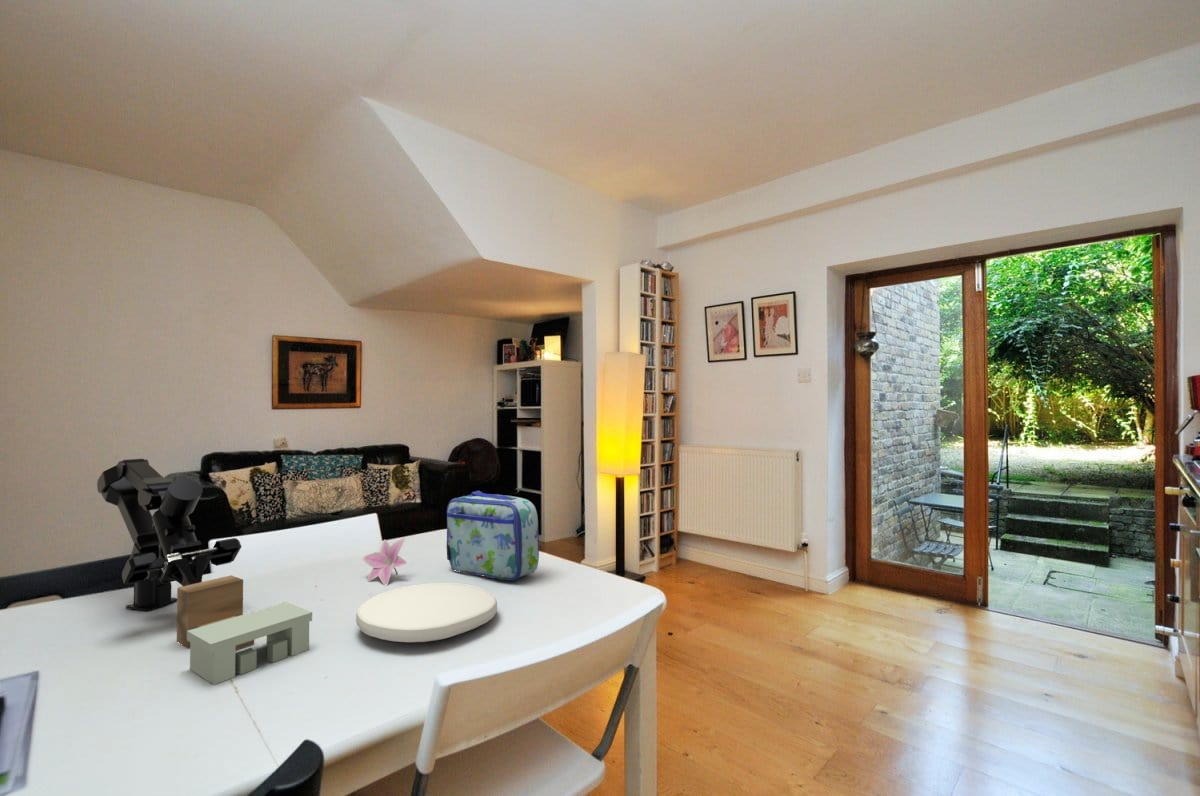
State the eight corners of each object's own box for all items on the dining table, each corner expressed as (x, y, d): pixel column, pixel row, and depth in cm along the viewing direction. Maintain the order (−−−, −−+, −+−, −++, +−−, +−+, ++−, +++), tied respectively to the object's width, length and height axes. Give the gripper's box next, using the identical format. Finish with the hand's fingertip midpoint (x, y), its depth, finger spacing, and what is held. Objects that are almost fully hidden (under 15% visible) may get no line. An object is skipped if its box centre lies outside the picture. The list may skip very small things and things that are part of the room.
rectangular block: (176, 641, 101) (177, 587, 102) (230, 625, 109) (231, 575, 109) (207, 659, 94) (207, 601, 94) (262, 641, 102) (263, 587, 102)
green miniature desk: (186, 670, 90) (186, 630, 91) (286, 636, 104) (286, 602, 104) (210, 685, 85) (210, 644, 86) (311, 648, 99) (312, 612, 99)
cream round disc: (408, 574, 127) (516, 583, 122) (405, 603, 127) (515, 613, 121) (325, 604, 100) (460, 616, 95) (322, 641, 99) (458, 656, 94)
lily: (361, 578, 142) (350, 551, 137) (403, 554, 149) (394, 527, 144) (381, 604, 134) (370, 576, 130) (424, 577, 141) (415, 549, 136)
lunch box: (439, 570, 146) (440, 492, 146) (469, 561, 155) (469, 487, 155) (514, 588, 132) (515, 501, 132) (542, 576, 141) (542, 495, 141)
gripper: (213, 545, 124) (235, 604, 118) (106, 565, 109) (125, 633, 103) (230, 514, 120) (253, 573, 114) (121, 530, 105) (141, 600, 98)
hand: (197, 595), depth 107 cm, fingers closed
